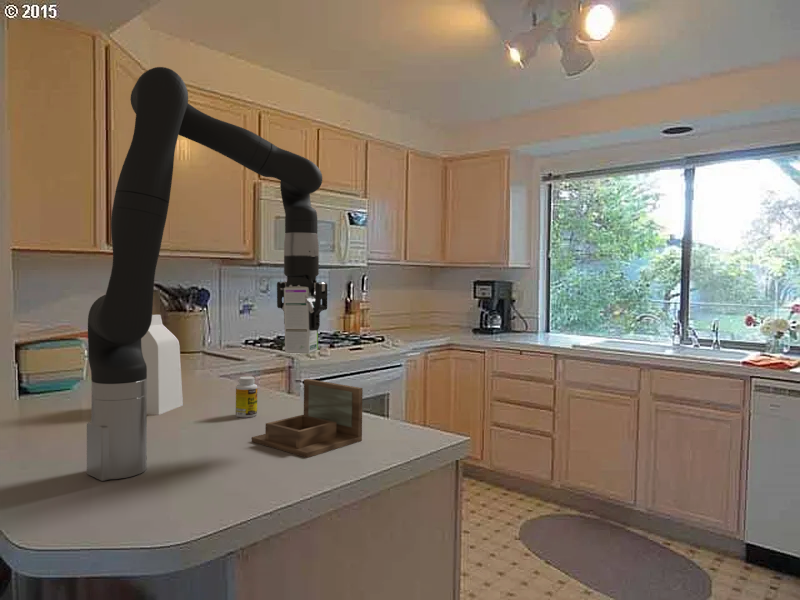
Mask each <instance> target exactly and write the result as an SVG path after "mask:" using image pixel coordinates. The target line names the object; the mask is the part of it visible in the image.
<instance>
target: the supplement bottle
mask: <svg viewBox="0 0 800 600" xmlns="http://www.w3.org/2000/svg"><path fill="white" fill-rule="evenodd" d="M255 382H256V381H255V377H254V376H240V377H239V378H238V384H237V385H236V386H235V416H236V417H237V418H243V419H246V418H247V419H248V418H253V417H256V416H257V415H258V385H257V384H256V383H255Z"/></svg>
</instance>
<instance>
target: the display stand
mask: <svg viewBox="0 0 800 600" xmlns="http://www.w3.org/2000/svg"><path fill="white" fill-rule="evenodd" d="M363 393H364V392H363V387H358V386H353V385H346V384H340V383H333V382H328V381H322V380H316V379H311V378H306V379H303V414H301V415H295V416H291V417H288V418H283V419H280V420H275V421H271V422H265V428H264V429H265V430H264V431H265V433H264V434H260V435H254V436H252V437H251V442H252V443H255V444H258V445H262V446H265V447H269V448H273V449H276V450H280V451H283V452H286V453H290V454H293V455H296V456H301V457H304V458H307V459H308V458H311V457H315V456H318V455H321V454H323V453H327V452H331V451H333V450H336V449H340V448H342V447H346V446H350V445H353V444H355V443H359V442H362V441H363Z"/></svg>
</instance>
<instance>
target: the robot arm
mask: <svg viewBox="0 0 800 600" xmlns="http://www.w3.org/2000/svg"><path fill="white" fill-rule="evenodd" d="M130 105H131V107H132V108H131V109H132V110H133V112H134V113H135V123H134V129H133V135H132V140H131V142H130V145H129V149H128V150H127V154H126V156H125V159H124V161H123V164H122V167H121V169H120V174H119V176H118V179H117V184H116V189H115V191H114V196H113V197H114V199H113V204H112V209H111V214H110V215H111V216H110V217H111V219H110V235H111V246H112V247H111V248H112V264H111V265H112V267H111V272H110V277H109V281H108V285H107V289H106V292H105V294H104V295H101V296H100V297H98V298H97V299H96V300H94V302H93V303H92V305H91V306H90V308H89V311H88V315H87V316H88V317H87V348H88V349H87V351H88V352H87V353H88V354H87V355H88V363H89V367H90V373H91V374H90V376H91V378H90V379H91V380H90V381H91V417H90V418H91V421H87V423H86V474H87V475H88V476H90V477H93V478H95V479H97V480H99V481H101V482H104V481H107V480H118V479H120V480H121V479H125V478H130V477H134V476H137V475H140V474H142V473H144V472H145V471H146V470H147V465H148V464H147V461H148V454H147V451H148V449H147V443H148V442H147V441H148V440H147V439H148V438H147V435H148V434H147V433H148V431H147V430H148V429H147V426H148V425H147V423H148V418H147V416H148V414H147V366H146V363H145V361H144V358H143V354H142V348H141V338H142V337H144V335H145V334H146V333H147V331H148V330H149V327H150V325H151V321H152V315H153V309H154V308H153V307H154V289H155V288H154V287H155V277H156V270H157V265H158V260H159V258H160V257H159V256H160V251H161V247H162V242H163V236H164V230H165V225H166V222H167V219H168V218H167V217H168V210H169V206H170V199H171V193H172V192H171V191H172V190H171V189H172V183H173V174H174V164H175V163H174V162H175V151H176V146H177V141H178V138H179V136H180V137H183V138H186V139H187V140H190V141H192V142H195V143H197V144H199V145H202V146H204V147H206V148H208V149H209V150H210V149H211V150H212V151H214V152H216V153H219V154H220V155H222V156H224V157H226V158H228V159H230V160H232V161H234V162H235V163H238V165H241V166H242V167H244V168H246V169H248V170H250V171H252V172H253V173H256V174H258V175H259V176H262V177H265V178H273V179H276V180H279V181H280V184H279V185H280V195H281V199H282V200H281V201H282V205H283V210H284V214H285V217H284V242H283V275H284V276H286V277H287V279H286V281H277V283H276V307H277V309H281V310H282V311H283V312H284V302H283V298H284V288H285V287H294V286H301V287H308V288H309V293H310V292H311V296H313V299H309V298H307V297H306V296H305V303H308V304H309V311H310V313H309V330H312V331H314V330H318V331H319V329H320V326H321V324H320V323H321V322H320V321H321V317H320V316H321V312H322V311H326V310H328V282H326V281H325V282H324V281H322V282H321V281H319V282H317V277H319V274H320V273H319V270H320V266H319V263H320V262H319V259H320V258H319V257H320V254H319V249H320V247H319V246H320V245H319V244H320V243H319V239H318V237H319V236H318V213H317V210H316V208H313V206H312V204H311V203H312V202H311V201H312V200H311V194H312V193H315V192H317V191H318V190H319V189H320V188H321V186H322V183H323V174H322V171H321V170H320V168H319V167H318V165H316V163H314V162H313V161H311V160H310V159H308V158H306V157H304V156H302V155H300V154H297V153H294V152H292V151H289V150H286V149H283V148H280V147H278V146H276V145H275V144H273V143H272V142H270V141H268V140H267V139H266V138H264V137H262V136H260V135H259V134H257V133H255V132H253V131H251V130H248V129H246V128H244V127H241V126H238V125H236V124H233V123H229V122H226V121H224V120H221V119H218V118H215V117H214V116H211V115H210V114H209V115H208V114H207V113H204V112H203V111H201V110H199V109H198V108H196V107H195V106H192V105H191V104H190V103H189V93H188V88H187V86H186V83H185V82H184V80H183V79H182V77H181V76H180V75H179V74H178V73H177V72H176V71H174V70H173V69H171V68H169V67H164V66H157V67H153V68H150V69H148V70H146V71H144V72H143V73H141V75H140V76H139V77H138V78H137V80H136V82H135V84H134V86H133V88H132V90H131V94H130ZM313 305H314V306H313ZM283 324H284V325H285V323H284V322H283Z"/></svg>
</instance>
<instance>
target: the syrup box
mask: <svg viewBox="0 0 800 600" xmlns="http://www.w3.org/2000/svg"><path fill="white" fill-rule="evenodd" d="M305 296H306V297H307V298H309V299H313V296H311V292H310V293H309V288H308V287H301V286H294V287H285V288H284V297H283V303H284V311H283V324H284V323H285V324H284V352H285V353H286V354H304V355H305V354H308V355H309V354H311V353H314V352H317V351H318V350H319V329H318V330H314V331H312V330H309V313H310V311H309V304H308V303H305ZM313 306H314V305H313Z"/></svg>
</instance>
